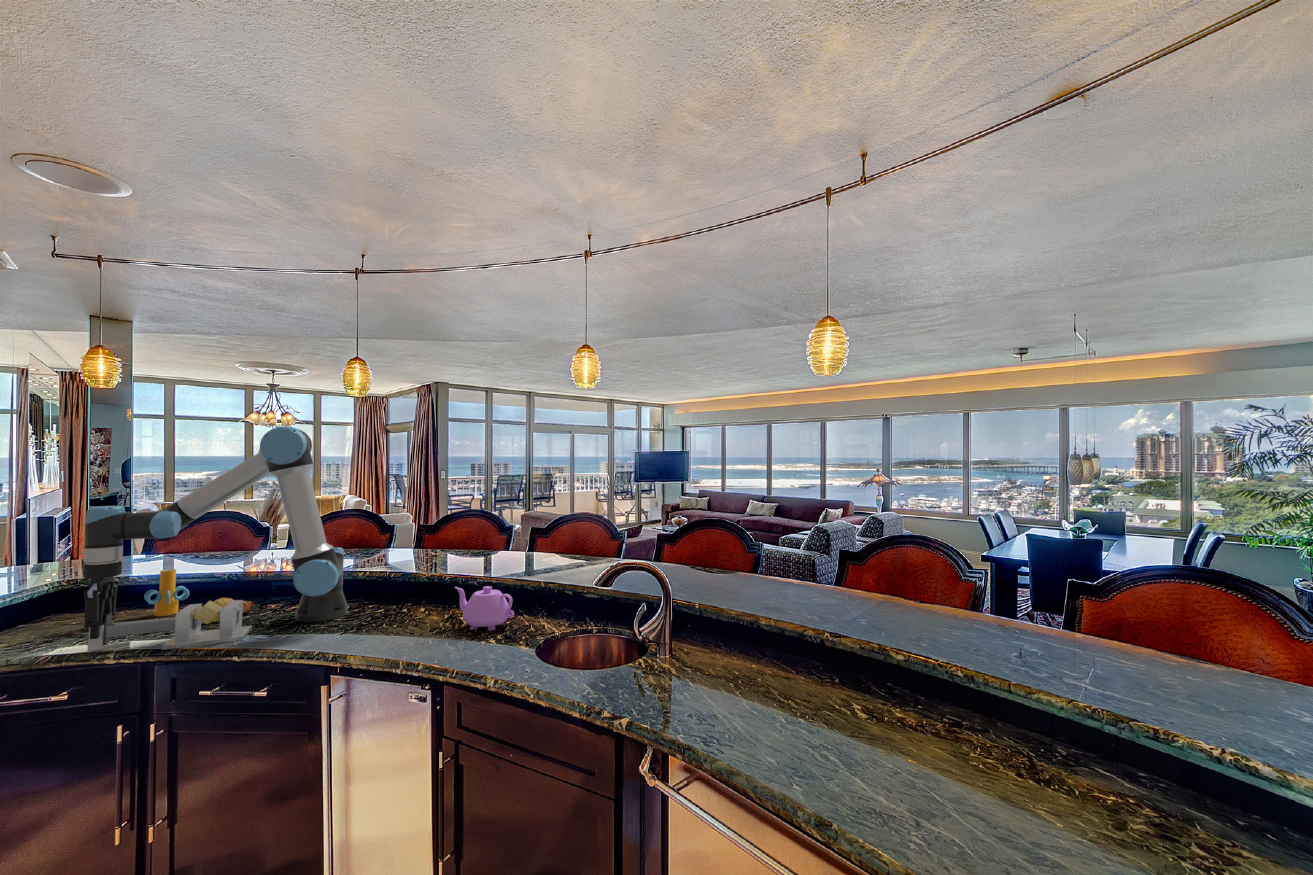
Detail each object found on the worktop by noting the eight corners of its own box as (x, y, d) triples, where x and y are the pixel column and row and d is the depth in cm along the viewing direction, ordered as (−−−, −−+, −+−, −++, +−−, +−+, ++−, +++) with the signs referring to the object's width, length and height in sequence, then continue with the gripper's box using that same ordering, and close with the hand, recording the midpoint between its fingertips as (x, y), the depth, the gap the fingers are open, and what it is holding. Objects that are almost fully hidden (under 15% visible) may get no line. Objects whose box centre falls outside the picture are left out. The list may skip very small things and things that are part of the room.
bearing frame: (251, 628, 166) (253, 598, 166) (242, 640, 155) (243, 608, 156) (177, 636, 158) (179, 605, 158) (161, 649, 147) (163, 615, 148)
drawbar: (199, 631, 157) (200, 604, 157) (195, 634, 154) (197, 607, 154) (95, 642, 147) (96, 613, 147) (89, 646, 144) (90, 616, 144)
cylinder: (158, 620, 174) (160, 574, 175) (133, 618, 176) (136, 573, 177) (197, 610, 186) (199, 567, 187) (173, 608, 188) (175, 566, 189)
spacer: (212, 618, 160) (223, 606, 161) (207, 624, 154) (218, 612, 155) (199, 612, 158) (209, 600, 159) (193, 617, 153) (204, 605, 154)
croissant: (186, 639, 166) (195, 618, 165) (168, 621, 169) (177, 600, 168) (256, 619, 186) (264, 600, 185) (239, 603, 189) (247, 584, 188)
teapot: (443, 631, 164) (444, 591, 165) (464, 618, 178) (465, 580, 179) (505, 634, 162) (505, 593, 163) (521, 620, 176) (522, 582, 177)
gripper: (99, 558, 153) (95, 640, 152) (68, 568, 138) (63, 659, 137) (134, 556, 156) (130, 636, 155) (107, 566, 141) (102, 655, 140)
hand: (99, 647), depth 146 cm, fingers closed on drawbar, 3 cm apart
